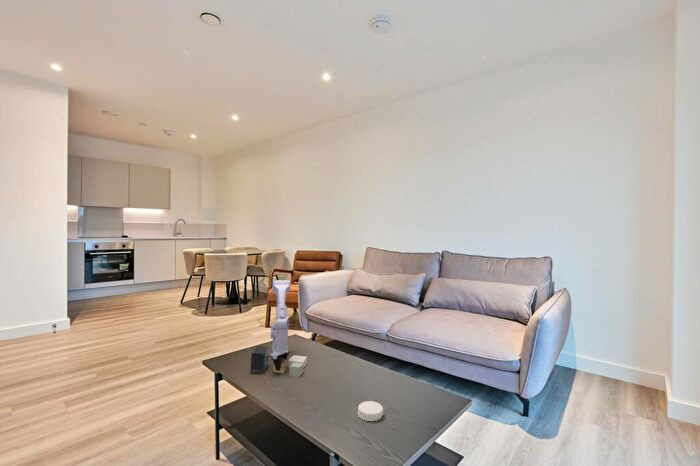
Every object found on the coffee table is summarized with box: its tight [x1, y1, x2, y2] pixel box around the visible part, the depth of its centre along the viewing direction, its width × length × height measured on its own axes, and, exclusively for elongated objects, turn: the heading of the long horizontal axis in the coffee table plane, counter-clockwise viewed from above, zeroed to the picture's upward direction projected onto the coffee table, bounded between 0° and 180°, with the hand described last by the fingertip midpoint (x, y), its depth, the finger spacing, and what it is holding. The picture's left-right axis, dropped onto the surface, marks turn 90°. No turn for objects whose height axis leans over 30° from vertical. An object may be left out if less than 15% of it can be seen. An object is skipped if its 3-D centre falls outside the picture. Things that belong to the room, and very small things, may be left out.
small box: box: [249, 345, 270, 375], centre depth 169 cm, size 11×6×10 cm, turn 179°
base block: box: [287, 355, 308, 369], centre depth 176 cm, size 8×8×4 cm
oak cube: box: [273, 359, 288, 374], centre depth 168 cm, size 5×5×5 cm
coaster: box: [357, 400, 384, 421], centre depth 130 cm, size 10×10×4 cm
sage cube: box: [289, 362, 304, 378], centre depth 165 cm, size 5×5×5 cm
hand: (280, 368), depth 168 cm, fingers closed on oak cube, 5 cm apart
